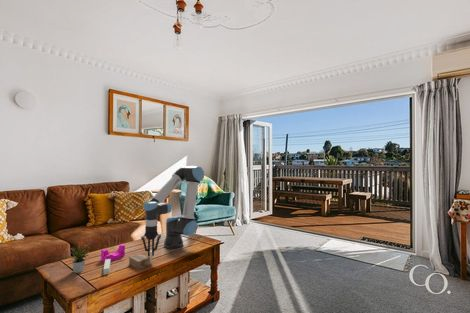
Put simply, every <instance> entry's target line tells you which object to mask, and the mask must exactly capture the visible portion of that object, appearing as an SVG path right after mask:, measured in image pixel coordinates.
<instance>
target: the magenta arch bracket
mask: <svg viewBox="0 0 470 313" xmlns="http://www.w3.org/2000/svg"><path fill="white" fill-rule="evenodd" d="M125 253H126V245H125V244H119V245H118V248H117V250H116V251H114V252H112V253H110V252H109V250H108V249H107V248H103V249H101V250H100V261H101V262H102V263H105V260H106V259H110V262H113V261H117V260H119V259H121V257H124V256H125Z"/></svg>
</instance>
